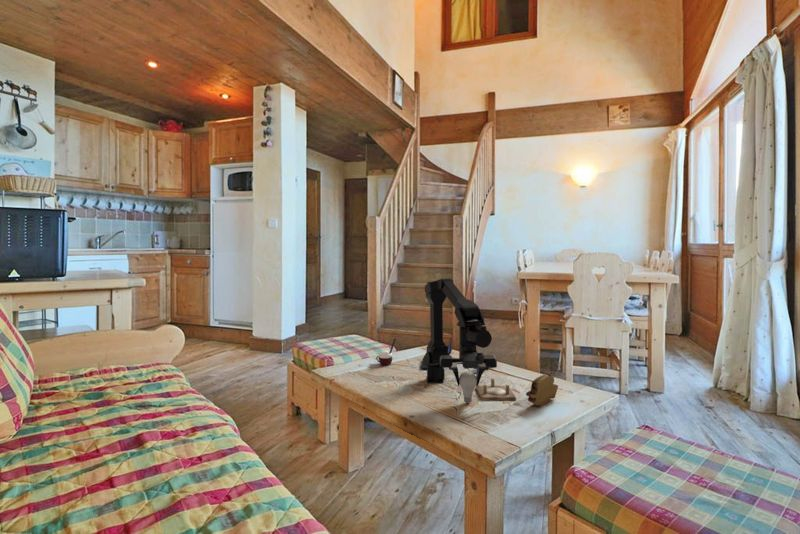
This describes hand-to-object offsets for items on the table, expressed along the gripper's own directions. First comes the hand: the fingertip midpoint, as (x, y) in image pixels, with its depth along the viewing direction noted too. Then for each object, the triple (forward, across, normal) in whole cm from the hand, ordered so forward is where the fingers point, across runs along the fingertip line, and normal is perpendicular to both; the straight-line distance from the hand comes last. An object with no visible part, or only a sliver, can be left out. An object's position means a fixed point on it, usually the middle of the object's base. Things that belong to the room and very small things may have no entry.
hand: (467, 386), depth 145 cm
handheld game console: (+6, -8, +45) cm, 46 cm away
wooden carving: (+6, +25, 0) cm, 26 cm away
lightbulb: (+6, 0, 0) cm, 6 cm away
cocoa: (+6, -31, +46) cm, 56 cm away
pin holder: (+6, +11, +9) cm, 15 cm away
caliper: (+6, +10, +36) cm, 38 cm away
